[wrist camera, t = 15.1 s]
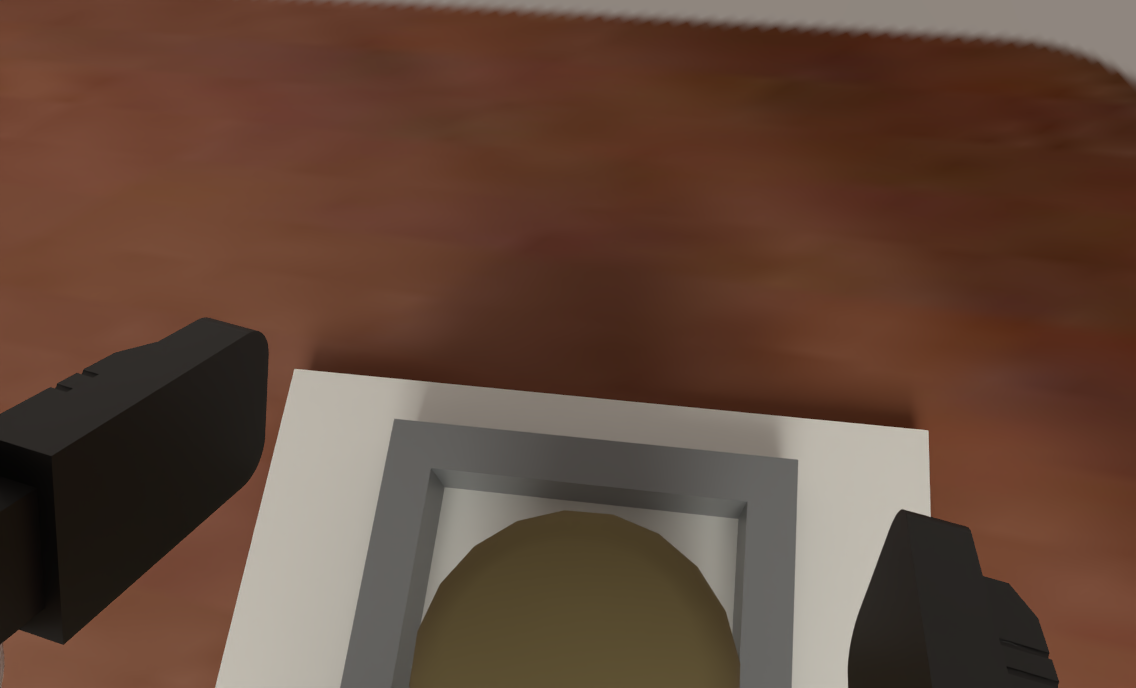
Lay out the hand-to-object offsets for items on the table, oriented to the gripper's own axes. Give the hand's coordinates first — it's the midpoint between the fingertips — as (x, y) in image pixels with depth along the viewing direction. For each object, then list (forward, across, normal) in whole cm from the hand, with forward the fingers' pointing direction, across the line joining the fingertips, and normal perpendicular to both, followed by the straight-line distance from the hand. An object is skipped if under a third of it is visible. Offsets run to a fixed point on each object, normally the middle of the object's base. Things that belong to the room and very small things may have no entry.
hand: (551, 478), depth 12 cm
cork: (+8, -1, +11) cm, 14 cm away
